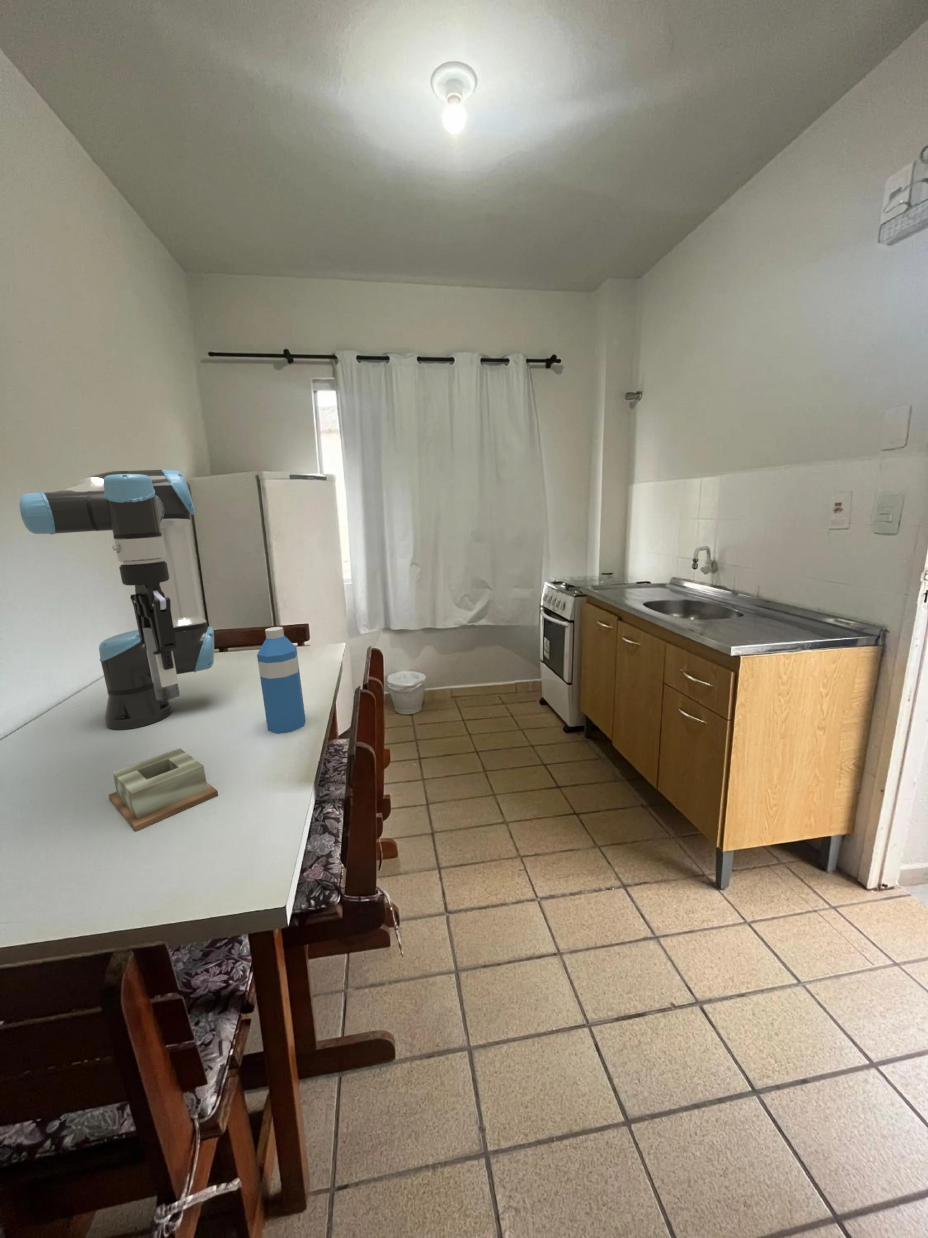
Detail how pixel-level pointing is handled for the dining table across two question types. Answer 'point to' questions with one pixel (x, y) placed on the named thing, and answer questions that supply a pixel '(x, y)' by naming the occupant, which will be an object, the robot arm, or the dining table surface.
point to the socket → (160, 788)
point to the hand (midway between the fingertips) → (165, 682)
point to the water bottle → (281, 682)
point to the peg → (160, 692)
